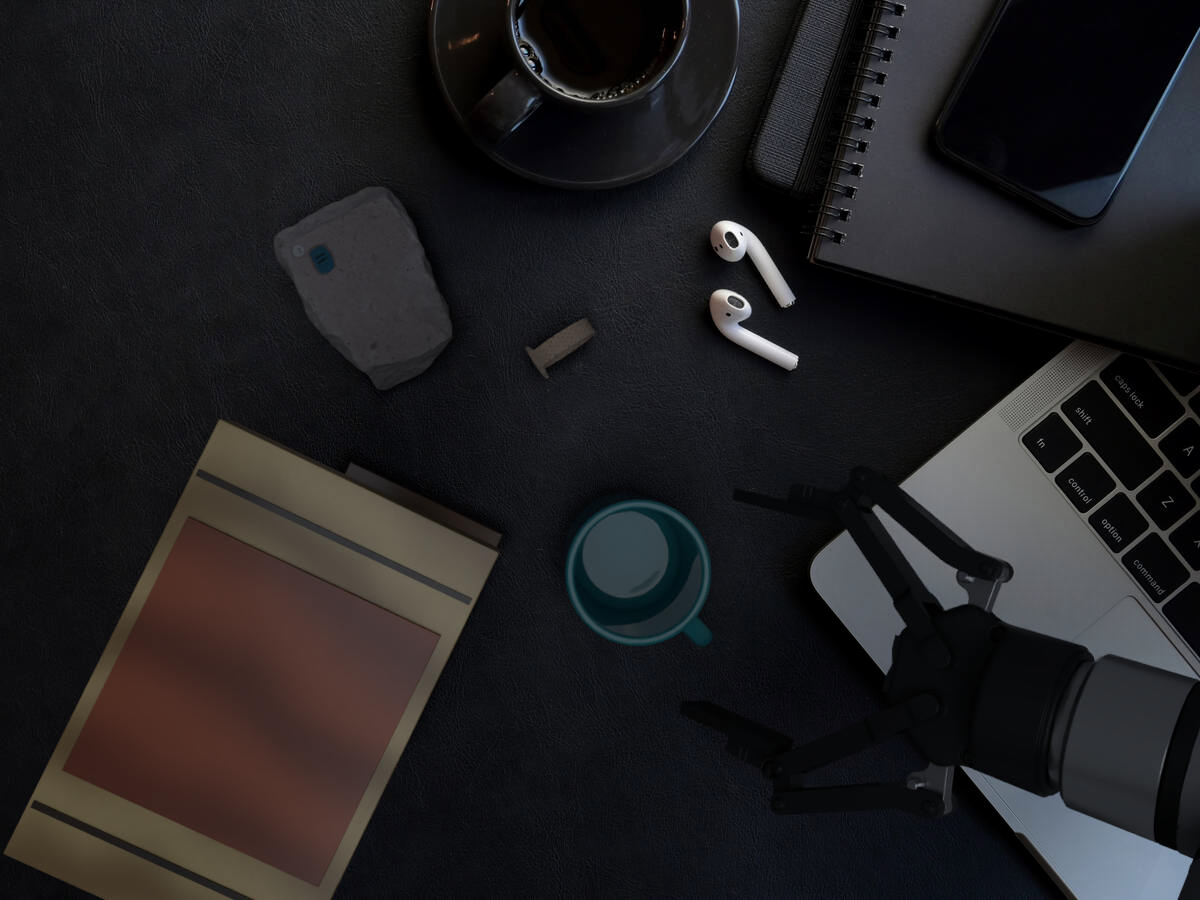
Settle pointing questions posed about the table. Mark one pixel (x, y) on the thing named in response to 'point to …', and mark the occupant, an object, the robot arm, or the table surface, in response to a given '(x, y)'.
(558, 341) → the flanged peg
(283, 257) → the decorative stone
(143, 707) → the board
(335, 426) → the table surface
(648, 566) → the cup
